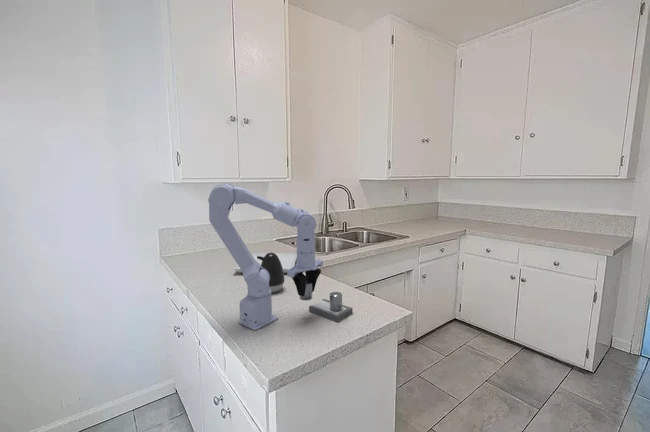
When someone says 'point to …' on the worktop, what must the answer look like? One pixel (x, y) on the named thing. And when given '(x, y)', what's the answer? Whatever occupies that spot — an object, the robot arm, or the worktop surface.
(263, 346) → the worktop surface
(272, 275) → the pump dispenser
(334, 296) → the cylinder
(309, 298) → the cylinder
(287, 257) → the square plate
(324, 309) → the scale
